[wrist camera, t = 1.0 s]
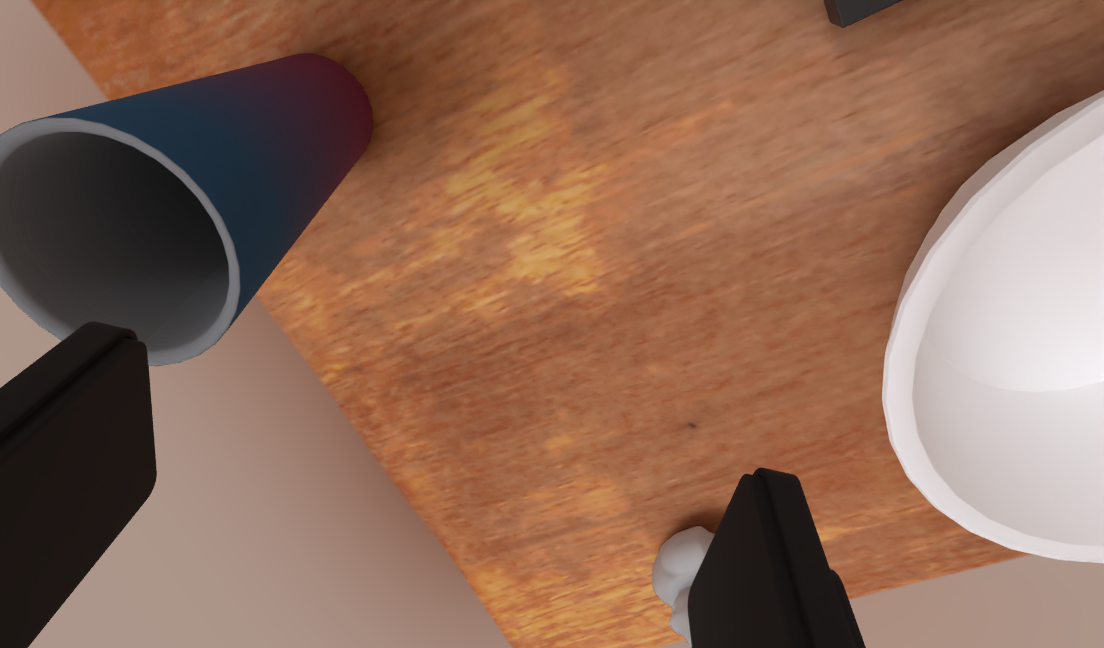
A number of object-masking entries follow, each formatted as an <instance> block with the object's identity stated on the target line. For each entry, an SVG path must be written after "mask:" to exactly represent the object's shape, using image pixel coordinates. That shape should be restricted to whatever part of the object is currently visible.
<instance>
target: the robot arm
mask: <svg viewBox="0 0 1104 648" xmlns="http://www.w3.org/2000/svg"><path fill="white" fill-rule="evenodd" d="M156 476H157V471H156V458H155V446H154V432H153V418H152V405H151V393H150V379H149V366H148V353H147V347H146V345H145V343H143V342H141V341H138V338H137V335H136V334H135V332H134V331H133V330H131V329H127V328H123V327H118V326H113V325H109V324H104V323H100V322H95V321H93V322H88V323H86V324H84V325H83V326H81V327H80V328H79V329H77V330H76V331H75V332H73V333H72V334H71V335H69V336H68V337H67V338H65V339H64V340H63V341H62V342H60V343H59V344H58V345H56V346H55V347H54V348H52V349H51V350H50V351H48V352H47V353H46V354H44V355H43V356H42V357H41V358H39V359H38V360H37V361H35V362H34V363H33V364H31V365H30V366H29V367H27V368H26V369H25V370H23V371H22V372H21V373H19V374H18V375H17V376H16V377H14V378H13V379H12V380H10V381H9V382H8V383H6V384H5V385H4V386H2V387H1V388H0V648H28V647H29V645H30V644H31V643H32V642H33V640H34V639H35V638H36V637H37V635H38V634H39V633H40V632H41V630H42V629H43V628H44V627H45V625H46V624H47V623H48V622H49V620H50V619H51V618H52V617H53V616H54V614H55V613H56V612H57V611H58V609H59V608H60V607H61V605H62V604H63V603H64V602H65V601H66V599H67V598H68V597H69V596H70V594H71V593H72V592H73V591H74V589H75V588H76V587H77V586H78V584H79V583H80V582H81V581H82V579H83V578H84V577H85V576H86V574H87V573H88V572H89V571H90V569H91V568H92V567H93V566H94V565H95V563H96V562H97V561H98V560H99V558H100V557H101V556H102V555H103V553H104V552H105V551H106V549H107V548H108V547H109V546H110V545H111V543H112V542H113V541H114V540H115V538H116V537H117V536H118V535H119V533H120V532H121V531H122V530H123V528H124V527H125V526H126V525H127V523H128V522H129V521H130V520H131V519H132V517H133V516H134V515H135V513H136V512H137V511H138V510H139V509H140V507H141V506H142V505H143V504H144V502H145V501H146V500H147V498H148V497H149V495H150V494H151V492H152V490H153V488H154V485H155V482H156ZM687 607H688V618H689V627H690V636H691V644H692V648H866V647H865V645H864V642H863V639H862V636H861V633H860V631H859V628H858V625H857V622H856V619H855V616H854V614H853V611H852V608H851V605H850V602H849V600H848V597H847V594H846V591H845V588H844V586H843V583H842V581H841V579H840V577H839V575H838V574H837V573H836V572H835V571H833V570H831V569H830V568H829V565H828V562H827V559H826V557H825V554H824V551H823V548H822V545H821V542H820V539H819V536H818V533H817V530H816V527H815V525H814V522H813V519H812V516H811V513H810V510H809V507H808V504H807V501H806V498H805V495H804V493H803V490H802V487H801V484H800V481H799V479H798V477H797V476H795V475H793V474H788V473H784V472H779V471H775V470H770V469H766V468H758V469H757V470H756V471H755V472H754V474H753V475H750V474H744V475H743V476H742V478H741V479H740V481H739V484H738V486H737V488H736V490H735V492H734V494H733V496H732V499H731V501H730V503H729V505H728V507H727V509H726V512H725V514H724V516H723V518H722V520H721V522H720V524H719V527H718V529H717V531H716V533H715V535H714V537H713V540H712V542H711V544H710V546H709V548H708V550H707V552H706V555H705V557H704V559H703V561H702V563H701V565H700V568H699V570H698V572H697V574H696V576H695V578H694V581H693V583H692V585H691V588H690V591H689V595H688V605H687Z"/></svg>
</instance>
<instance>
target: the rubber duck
mask: <svg viewBox="0 0 1104 648" xmlns="http://www.w3.org/2000/svg"><path fill="white" fill-rule="evenodd" d="M714 535H715V533H712V532H708V531H707V530H706V529H705V528H703V527H701V526H696V527H692V528H689V529H686V530H684V531H681V532H678V533H676V534H674V535H673V536H672V537H671V538H669V539H668V540H667V541H665V542H664V543H663V545H662V546H661V548H660V550H659V552H658V555H657V557H656V560H655V563H654V566H653V571H652V572H653V573H652V584H653V589H654V591H655V593H656V594H657V596H658V597H659V598H660V599H661V600H662V601H663V602H664V603H666V604H667V605H669V606H670V607H672V612H673V615H672V616H671V618H670V621H669V624H670V626H671V628H672V629H673V630H674V631H675V632H676V633H678V634H680V635H682V636H684V638H685V640H686V641H687V643H688V644H689V645H690V646H691V647H692V644H691V636H690V627H689V618H688V607H687V605H688V595H689V591H690V588H691V585H692V583H693V581H694V578H695V576H696V574H697V572H698V570H699V568H700V565H701V563H702V561H703V559H704V557H705V555H706V552H707V550H708V548H709V546H710V544H711V542H712V540H713V537H714Z"/></svg>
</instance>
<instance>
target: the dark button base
mask: <svg viewBox="0 0 1104 648" xmlns="http://www.w3.org/2000/svg"><path fill="white" fill-rule="evenodd" d="M900 1H902V0H824V3H825V6H826V9H827V13H828V16H829V20H830V22H831V23H833V24H835V25H837V26H840V27H842V28H845V27H847V26H849V25H851V24H853V23H855V22H857V21H859V20H862V19H864V18H866V17H868V16H870V15H872V14H874V13H877V12H879V11H881V10H883V9H885V8H887V7H889V6H891V5H894V4H896V3H898V2H900Z"/></svg>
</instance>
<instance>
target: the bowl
mask: <svg viewBox="0 0 1104 648" xmlns="http://www.w3.org/2000/svg"><path fill="white" fill-rule="evenodd" d="M882 403H883V409H884V414H885V419H886V425H887V430H888V435H889V440H890V443H891V445H892V447H893V449H894V451H895V453H896V455H897V457H898V459H899V461H900V463H901V465H902V467H903V469H904V471H905V473H906V475H907V477H908V478H909V479H910V480H911V482H912V483H913V484H914V485H915V486H916V487H917V488H918V489H919V491H920V492H921V493H922V494H923V495H924V496H925V497H926V499H927V500H928V501H929V502H930V503H931V504H932V505H933V506H934V507H935V508H936V509H938V510H939V511H941V512H942V513H944V514H945V515H946V516H948V517H949V518H951V519H952V520H954V521H955V522H957V523H958V524H959V525H961V526H962V527H964V528H965V529H967V530H968V531H970V532H972V533H974V534H977V535H979V536H981V537H984V538H986V539H988V540H991V541H993V542H995V543H998V544H1000V545H1002V546H1005V547H1007V548H1010V549H1013V550H1017V551H1021V552H1026V553H1030V554H1034V555H1039V556H1043V557H1048V558H1052V559H1056V560H1069V561H1082V562H1096V563H1104V90H1103V91H1101V92H1099V93H1097V94H1095V95H1093V96H1091V97H1089V98H1087V99H1085V100H1083V101H1081V102H1079V103H1077V104H1075V105H1073V106H1071V107H1068V108H1066V109H1064V110H1062V111H1060V112H1058V113H1056V114H1055V115H1054V116H1052V117H1051V118H1049V119H1048V120H1046V121H1045V122H1043V123H1042V124H1040V125H1039V126H1037V127H1036V128H1035V129H1033V130H1032V131H1030V132H1029V133H1027V134H1026V135H1024V136H1023V137H1021V138H1020V139H1018V140H1017V141H1016V142H1014V143H1013V144H1011V145H1010V146H1008V147H1007V148H1005V149H1004V150H1003V151H1001V152H1000V153H998V154H997V155H995V156H994V157H992V158H991V159H989V160H988V161H987V162H986V163H985V164H984V165H983V166H982V167H981V168H980V169H979V170H977V171H976V172H975V173H974V174H973V175H972V176H971V177H970V178H969V179H968V180H967V181H966V182H965V183H964V184H962V186H961V187H960V188H959V189H958V191H957V192H956V193H955V195H954V196H953V197H952V198H951V200H950V201H949V202H948V203H947V205H946V206H945V207H944V209H943V210H942V211H941V213H940V214H939V216H938V218H937V220H936V222H935V224H934V225H933V226H932V228H931V229H930V230H929V232H928V234H927V236H926V237H925V239H924V241H923V243H922V245H921V247H920V249H919V250H918V252H917V254H916V256H915V258H914V260H913V262H912V263H911V265H910V267H909V269H908V271H907V273H906V276H905V279H904V282H903V285H902V289H901V292H900V295H899V298H898V302H897V305H896V308H895V312H894V315H893V319H892V324H891V329H890V333H889V338H888V342H887V347H886V351H885V361H884V375H883V390H882Z"/></svg>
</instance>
